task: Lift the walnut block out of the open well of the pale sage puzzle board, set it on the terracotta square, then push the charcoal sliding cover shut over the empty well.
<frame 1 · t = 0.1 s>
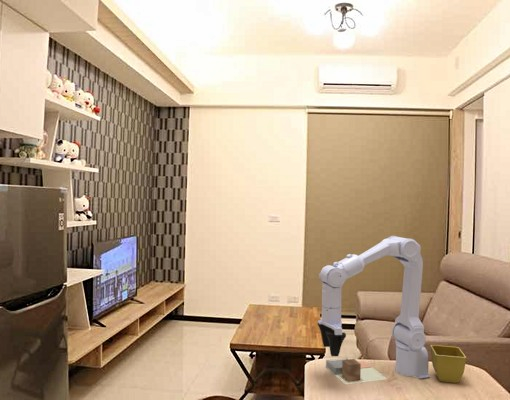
hand: (330, 351, 128), 10 cm above the table, tool pointing down, fingers open, 7 cm apart
flower pot: (447, 380, 133), on the table
puzzle board: (355, 375, 134), on the table
walnut block: (351, 381, 130), resting in puzzle board
sliding cover: (341, 365, 136), point 2 cm above the table, slide at 0.0 cm
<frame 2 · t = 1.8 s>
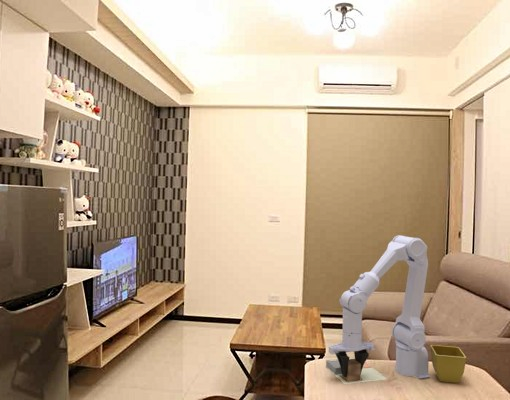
hand: (351, 375, 130), 2 cm above the table, tool pointing down, fingers closed on walnut block, 4 cm apart
walnut block: (351, 381, 130), resting in puzzle board, touching gripper
everything else where it was.
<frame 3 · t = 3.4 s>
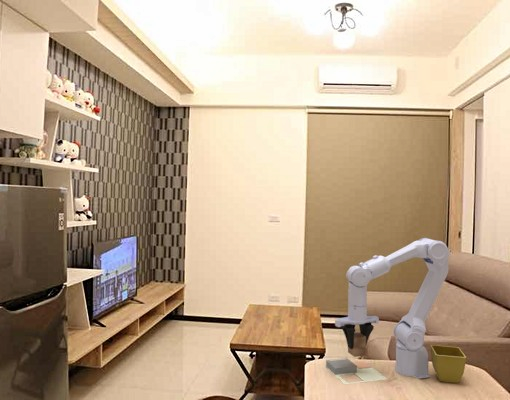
hand: (356, 347, 135), 9 cm above the table, tool pointing down, fingers closed on walnut block, 4 cm apart
walnut block: (356, 353, 135), point 7 cm above the table, touching gripper
everything else where it was.
when the fingers open (4 cm above the table, at t = 5.0 s): walnut block drops 1 cm, resting on puzzle board.
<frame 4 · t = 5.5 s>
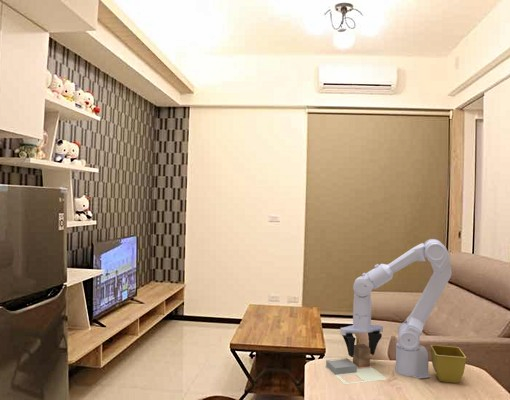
hand: (361, 354, 140), 4 cm above the table, tool pointing down, fingers open, 7 cm apart
walnut block: (361, 364, 140), point 1 cm above the table, touching puzzle board
everything else where it was.
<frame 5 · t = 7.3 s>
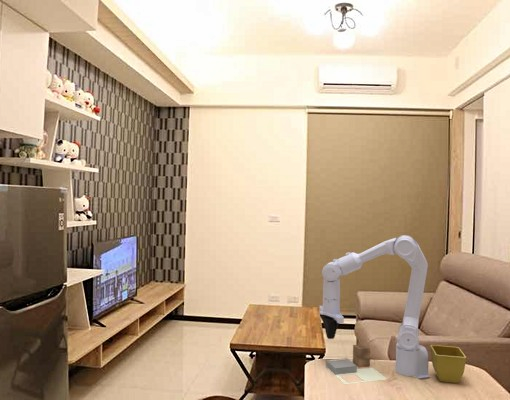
hand: (330, 338, 144), 8 cm above the table, tool pointing down, fingers closed
nothing on the table moved.
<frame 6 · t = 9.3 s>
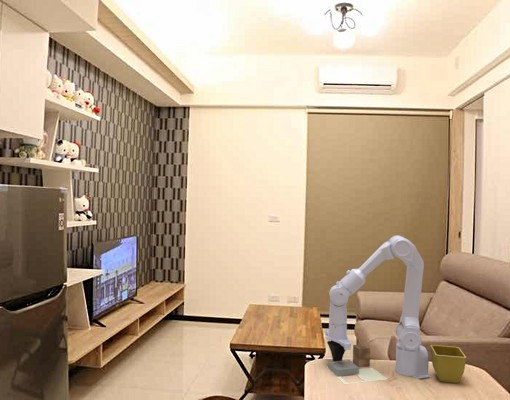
hand: (337, 364, 139), 2 cm above the table, tool pointing down, fingers closed
sliding cover: (343, 367, 135), point 2 cm above the table, slide at 1.4 cm, touching gripper
everything else where it was.
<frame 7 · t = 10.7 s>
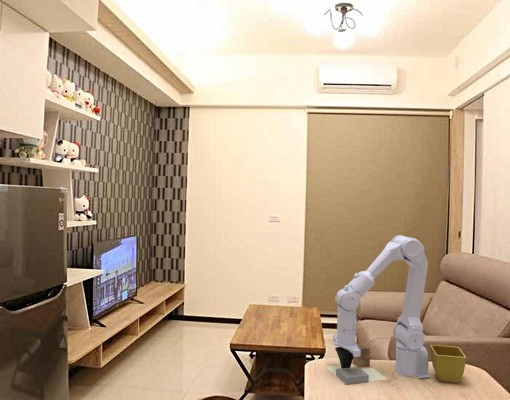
hand: (345, 371, 134), 2 cm above the table, tool pointing down, fingers closed
sliding cover: (352, 375, 130), point 2 cm above the table, slide at 7.1 cm, touching gripper
everything else where it was.
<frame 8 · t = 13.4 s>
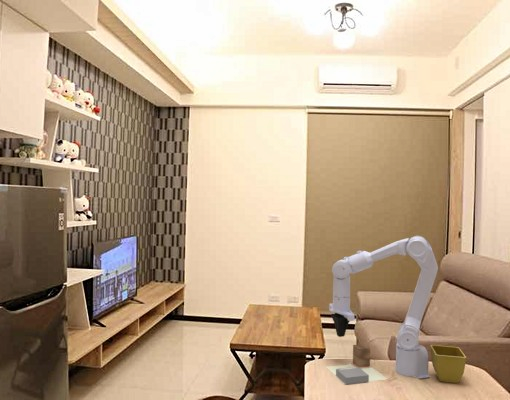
hand: (340, 336, 143), 9 cm above the table, tool pointing down, fingers closed
sliding cover: (352, 375, 130), point 2 cm above the table, slide at 7.0 cm
everything else where it was.
at the end: walnut block 0.1 cm from the target spot, point 1.2 cm above the table; walnut block tilted 0°; sliding cover slide at 7.0 cm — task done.
